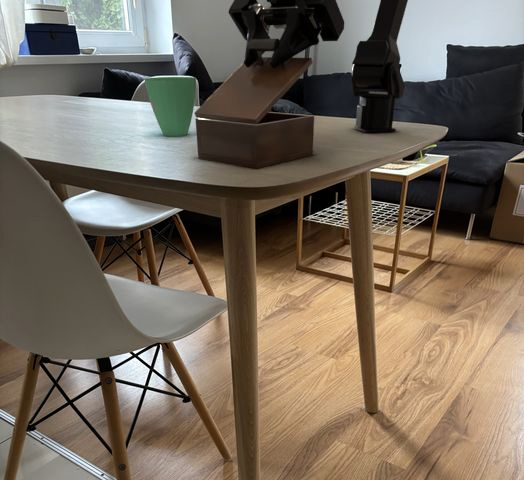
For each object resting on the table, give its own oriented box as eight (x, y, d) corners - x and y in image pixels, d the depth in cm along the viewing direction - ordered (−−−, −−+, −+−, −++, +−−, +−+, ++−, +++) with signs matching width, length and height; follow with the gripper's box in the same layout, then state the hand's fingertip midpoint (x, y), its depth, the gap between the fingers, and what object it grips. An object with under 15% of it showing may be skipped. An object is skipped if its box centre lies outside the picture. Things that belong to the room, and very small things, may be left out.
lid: (250, 61, 82) (239, 32, 79) (313, 62, 75) (304, 30, 72) (196, 117, 78) (182, 89, 75) (257, 124, 71) (244, 93, 67)
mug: (203, 136, 100) (200, 79, 94) (153, 139, 97) (146, 80, 92) (192, 126, 112) (188, 75, 107) (146, 129, 109) (140, 76, 104)
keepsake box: (255, 146, 90) (254, 110, 87) (312, 155, 82) (314, 115, 79) (198, 158, 81) (195, 118, 78) (256, 168, 74) (256, 125, 71)
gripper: (234, -66, 76) (184, 21, 74) (339, -85, 65) (282, 16, 64) (269, 1, 85) (225, 79, 84) (365, -6, 74) (317, 83, 73)
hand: (258, 65), depth 76 cm, fingers closed on lid, 5 cm apart
